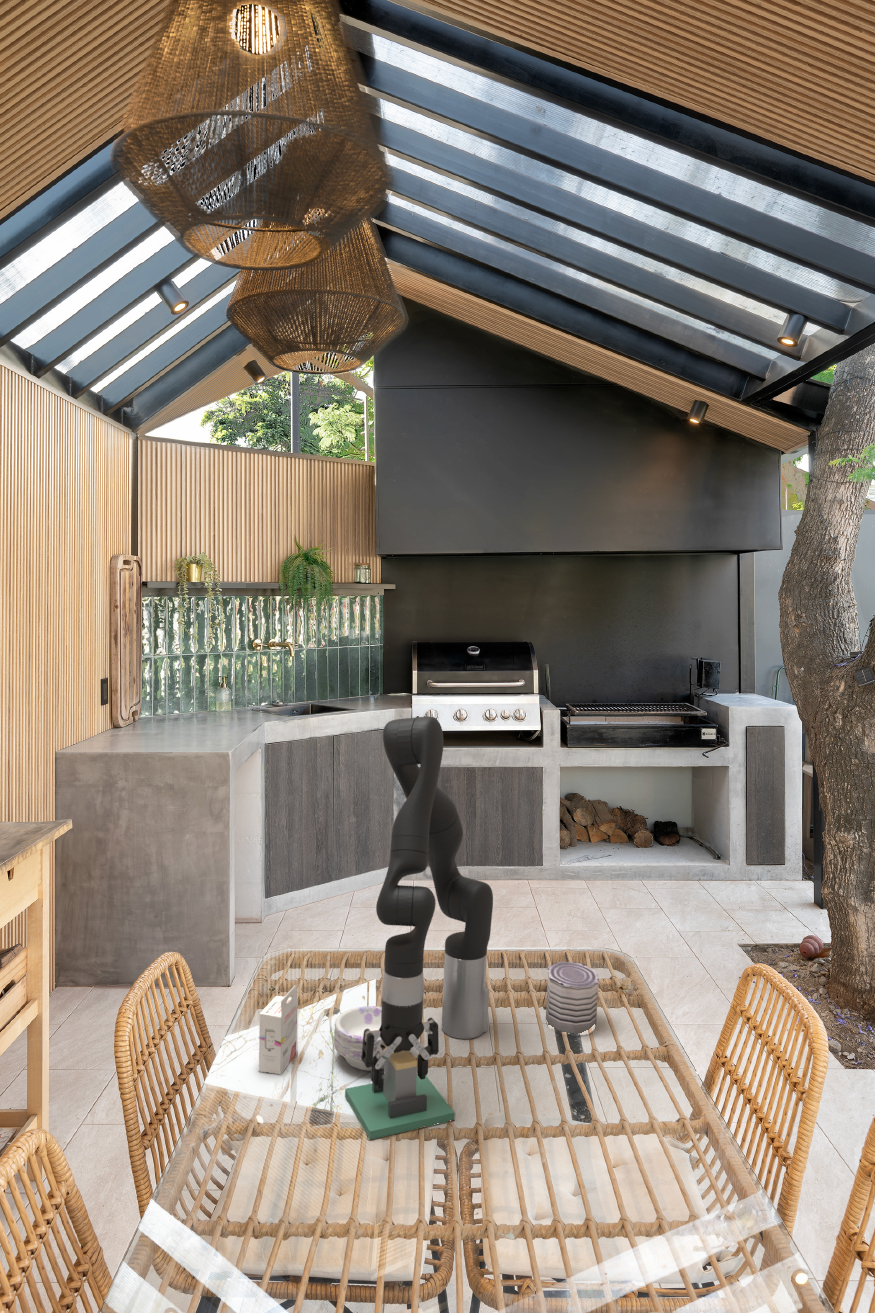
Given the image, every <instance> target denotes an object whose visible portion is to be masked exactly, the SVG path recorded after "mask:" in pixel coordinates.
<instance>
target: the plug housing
mask: <svg viewBox="0 0 875 1313" xmlns="http://www.w3.org/2000/svg"><path fill="white" fill-rule="evenodd" d="M386 1049H387V1048H386ZM386 1049H385V1050H386ZM417 1064H418V1059H416V1057H415V1056H414V1055H413V1054H412V1052H411V1050H409V1051H401V1052H398V1053H394V1052H393V1053H392V1054H391V1056H390V1057H389V1059H386V1060H385V1062H384V1069H383V1075H384V1084H383V1094H384V1096H385V1097H386V1099H387V1100H388V1102H390V1101H395V1100H400V1099H405V1098H409V1097H414V1096H416V1081H417Z"/></svg>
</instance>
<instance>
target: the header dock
mask: <svg viewBox="0 0 875 1313" xmlns="http://www.w3.org/2000/svg"><path fill="white" fill-rule="evenodd" d="M383 1084H384V1074H382V1087H381V1088H378V1089H377V1087H376V1086H374V1084H373V1082H372V1081H371V1083H367V1084H361V1085H356V1086H352V1087H347V1088H344V1090H345V1091H344V1097H345V1099H346V1101H347V1103H348V1104H349V1106H350V1107H351V1109H352V1111H353V1113H354V1115H355V1117H356V1119H357V1121H358V1122H359V1124H360V1126H361V1127H362V1129H363V1130H364V1133H365V1134H366V1136H367V1137H368V1140H370V1141H371V1140H375V1139H380V1138H384V1137H389V1136H393V1135H397V1134H403V1133H405V1132H406V1133H407V1132H410V1131H415V1130H414V1129H416V1130H418V1129H417V1128H420V1129H422V1128H421V1127H423V1126H429V1127H433V1126H435V1125H434V1124H437V1123H439V1124H438V1125H441V1124H440V1123H442V1124H447V1123H449V1122H448V1121H450V1120H451V1122H453V1121H452V1120H454V1121H455V1111H454V1110H453V1109H452V1107H451V1106H450V1105H449V1103H448V1102H447V1101H446V1099H445V1098H444V1096H443V1095H442V1094H441V1093H440V1091H439V1090H438V1089H437V1088H436V1086H435V1085H434V1084H433V1083H432V1081H431V1080H430V1079H429V1078H428V1075H425V1079H422V1080H421V1079H420V1078H419V1076H418V1074H417V1081H416V1096H414V1097H409V1098H405V1099H400V1100H395V1101H390V1102H388V1100H387V1099H386V1097H385V1096H384V1094H383ZM432 1125H433V1126H432Z"/></svg>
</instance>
